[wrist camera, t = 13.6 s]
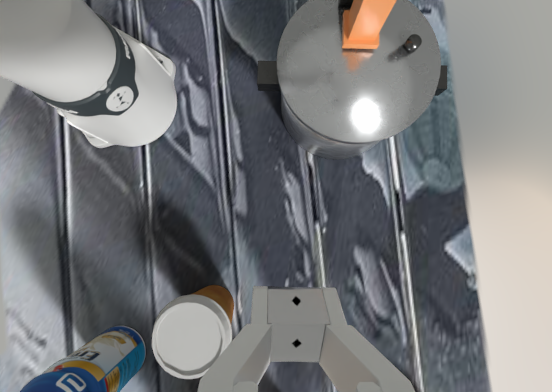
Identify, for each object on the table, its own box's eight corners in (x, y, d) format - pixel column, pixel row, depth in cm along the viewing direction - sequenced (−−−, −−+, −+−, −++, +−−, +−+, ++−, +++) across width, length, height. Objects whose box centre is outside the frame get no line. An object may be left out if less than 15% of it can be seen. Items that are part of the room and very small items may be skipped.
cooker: (409, 165, 44) (489, 135, 27) (260, 160, 45) (247, 128, 28) (410, 51, 45) (488, -47, 28) (265, 47, 46) (255, -50, 29)
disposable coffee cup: (172, 297, 43) (131, 329, 32) (222, 262, 44) (200, 281, 32) (206, 348, 43) (176, 400, 31) (255, 313, 43) (246, 351, 31)
